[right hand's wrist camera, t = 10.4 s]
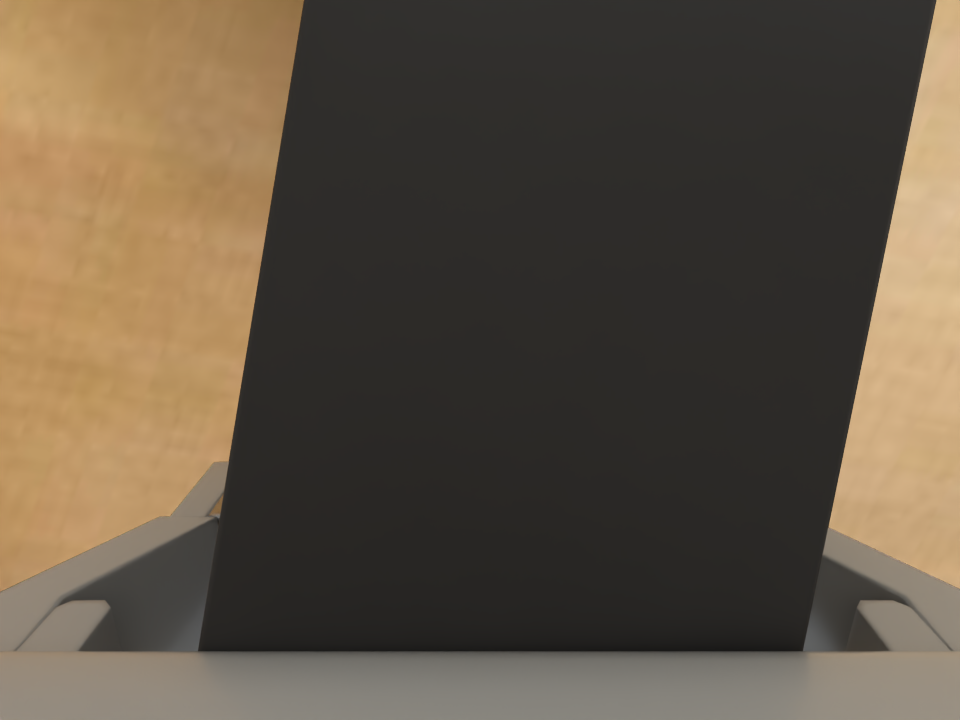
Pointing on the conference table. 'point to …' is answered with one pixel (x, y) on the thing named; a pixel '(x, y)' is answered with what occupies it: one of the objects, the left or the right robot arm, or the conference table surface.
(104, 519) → the conference table surface
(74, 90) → the conference table surface
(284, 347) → the bar
